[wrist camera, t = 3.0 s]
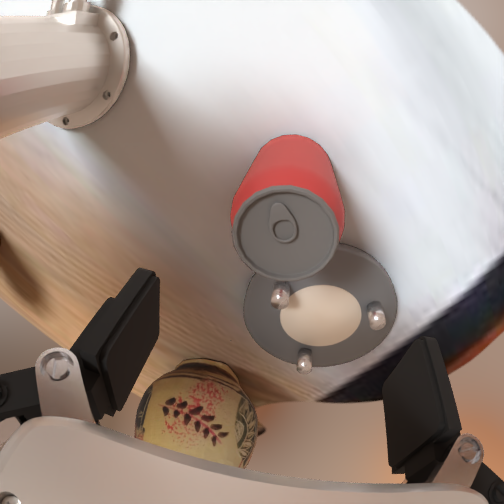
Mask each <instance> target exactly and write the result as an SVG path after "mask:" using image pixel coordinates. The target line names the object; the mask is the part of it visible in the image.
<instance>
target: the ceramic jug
mask: <svg viewBox="0 0 504 504" xmlns="http://www.w3.org/2000/svg"><path fill="white" fill-rule="evenodd" d="M230 341H231V340H230ZM257 434H258V420H257V414H256V411H255V408H254V406H253V404H252V403H251V401H250V399H249V398H248V396H247V395H246V394H245V392H244V391H243V390H242V389H241V387H240V384H239V381H238V378H237V376H236V375H235V374H234V372H233V371H232V370H231V369H230V368H229V367H228V366H227V365H226V364H223V363H221V362H215V361H211V360H207V359H189V360H184V361H182V362H181V363H180V364H179V365H177V366H176V368H175V370H173V371H171V372H168V373H166V374H164V375H163V376H161V377H160V378H158V379H157V380H155V381H154V382H153V383H152V384H151V385H150V386H149V387H148V389H147V390H146V391H145V393H144V395H143V397H142V400H141V402H140V404H139V407H138V409H137V415H136V423H135V438H137V439H139V440H142V441H145V442H148V443H151V444H154V445H157V446H160V447H164V448H167V449H170V450H173V451H176V452H180V453H183V454H186V455H190V456H193V457H197V458H201V459H204V460H208V461H212V462H216V463H220V464H225V465H229V466H233V467H238V468H243V469H245V468H246V466H247V465H248V463H249V461H250V458H251V456H252V453H253V450H254V448H255V445H256V439H257Z"/></svg>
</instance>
